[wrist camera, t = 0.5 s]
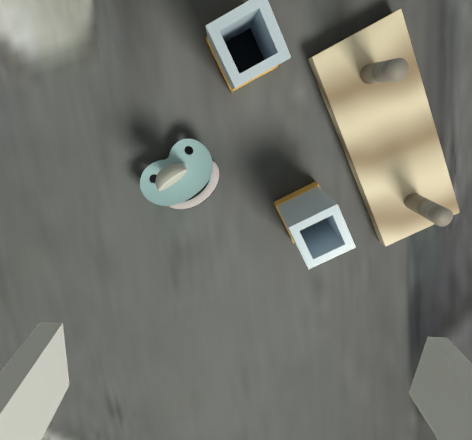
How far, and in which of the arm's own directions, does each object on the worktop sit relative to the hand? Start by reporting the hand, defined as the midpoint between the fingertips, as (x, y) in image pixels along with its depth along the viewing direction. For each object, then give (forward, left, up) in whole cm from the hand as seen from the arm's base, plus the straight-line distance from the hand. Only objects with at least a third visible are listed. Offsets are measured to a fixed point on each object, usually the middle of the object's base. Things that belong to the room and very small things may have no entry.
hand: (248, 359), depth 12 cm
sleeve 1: (-11, +7, -23) cm, 26 cm away
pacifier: (-3, -3, -24) cm, 24 cm away
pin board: (+2, +16, -23) cm, 28 cm away
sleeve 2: (+5, +6, -23) cm, 24 cm away
